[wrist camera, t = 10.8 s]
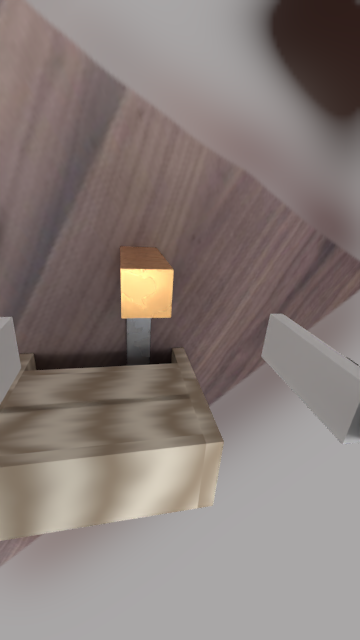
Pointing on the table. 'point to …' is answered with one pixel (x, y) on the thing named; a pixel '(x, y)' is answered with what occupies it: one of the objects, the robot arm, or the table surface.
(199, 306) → the table surface
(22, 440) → the wooden shelf
